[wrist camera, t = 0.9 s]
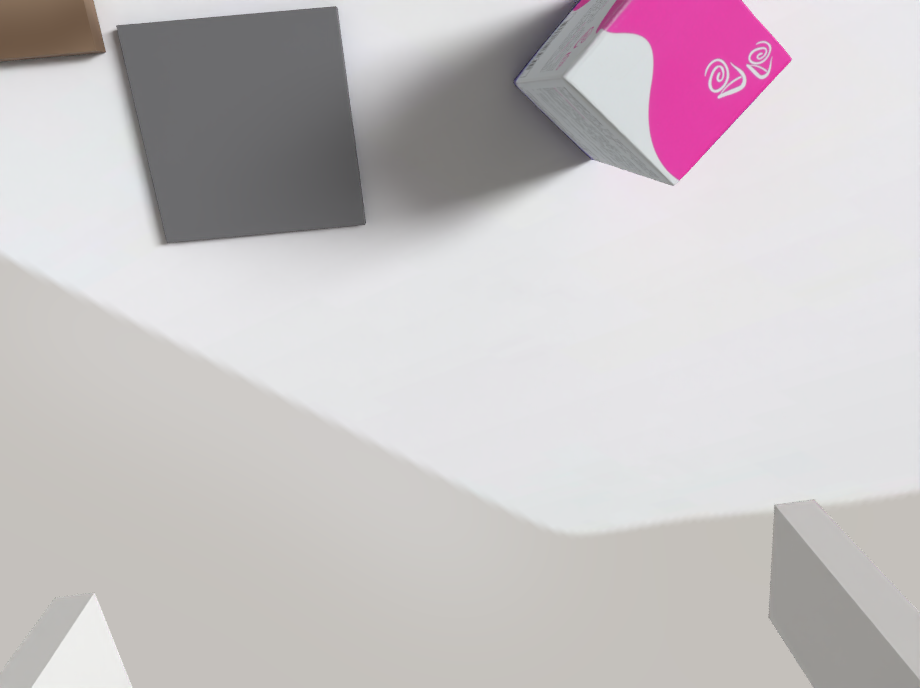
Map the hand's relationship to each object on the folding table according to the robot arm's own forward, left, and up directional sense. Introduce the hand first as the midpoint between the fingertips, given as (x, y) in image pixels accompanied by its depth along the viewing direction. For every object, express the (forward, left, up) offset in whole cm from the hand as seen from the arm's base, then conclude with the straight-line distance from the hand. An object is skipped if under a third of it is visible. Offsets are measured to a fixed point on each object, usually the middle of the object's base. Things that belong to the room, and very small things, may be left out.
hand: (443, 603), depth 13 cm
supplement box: (-10, +9, -25) cm, 28 cm away
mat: (-9, -8, -24) cm, 27 cm away
